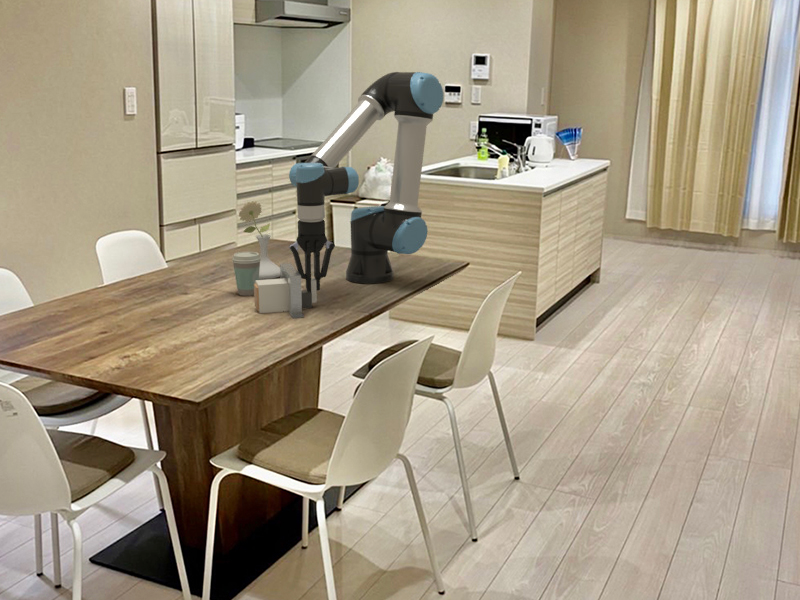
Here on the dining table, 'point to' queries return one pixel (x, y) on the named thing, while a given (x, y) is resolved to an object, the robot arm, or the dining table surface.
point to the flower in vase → (260, 240)
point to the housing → (293, 289)
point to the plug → (276, 296)
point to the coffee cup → (246, 271)
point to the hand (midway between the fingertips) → (313, 301)
